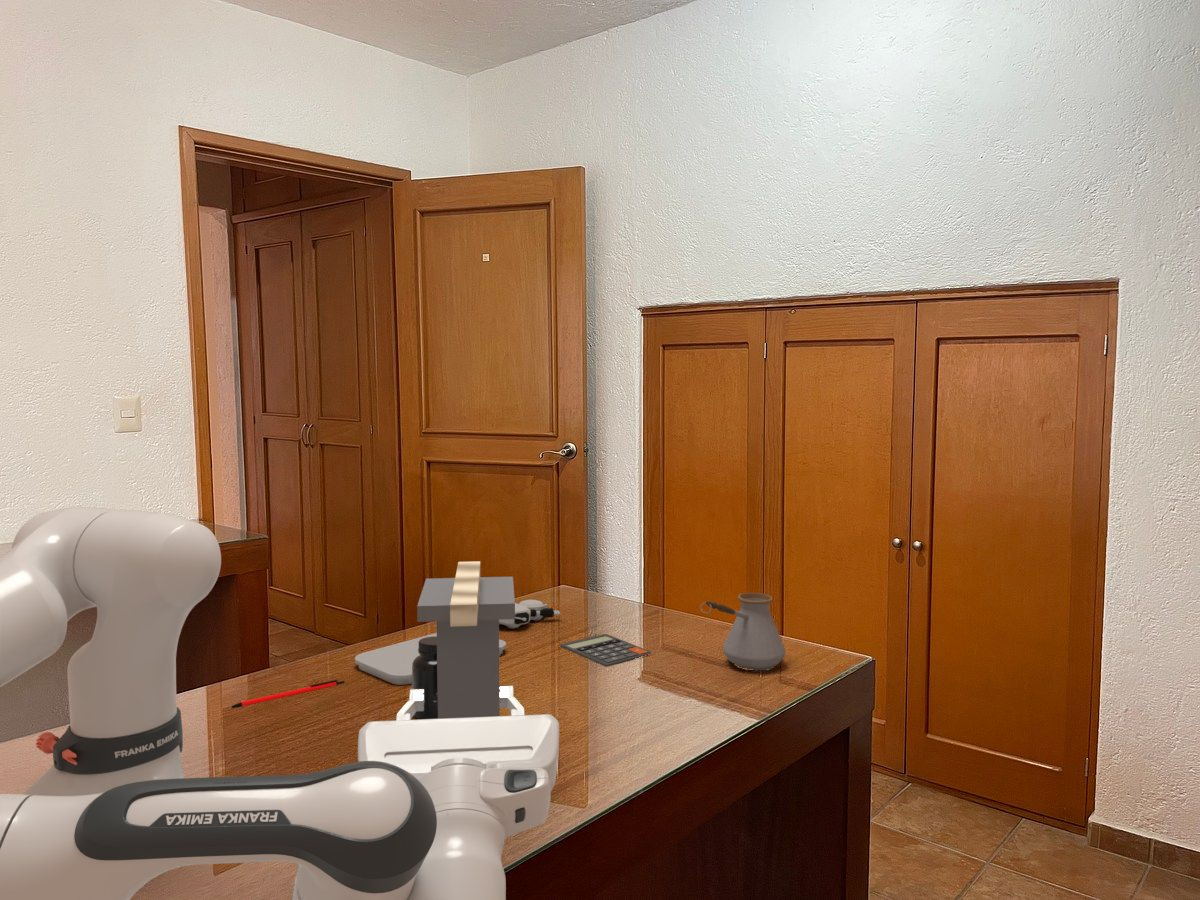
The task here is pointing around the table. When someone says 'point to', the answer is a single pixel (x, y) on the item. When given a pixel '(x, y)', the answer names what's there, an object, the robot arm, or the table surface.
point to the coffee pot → (752, 633)
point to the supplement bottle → (426, 677)
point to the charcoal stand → (468, 646)
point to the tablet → (396, 660)
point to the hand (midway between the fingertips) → (462, 690)
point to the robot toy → (528, 613)
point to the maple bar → (465, 595)
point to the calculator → (605, 649)
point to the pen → (289, 693)
